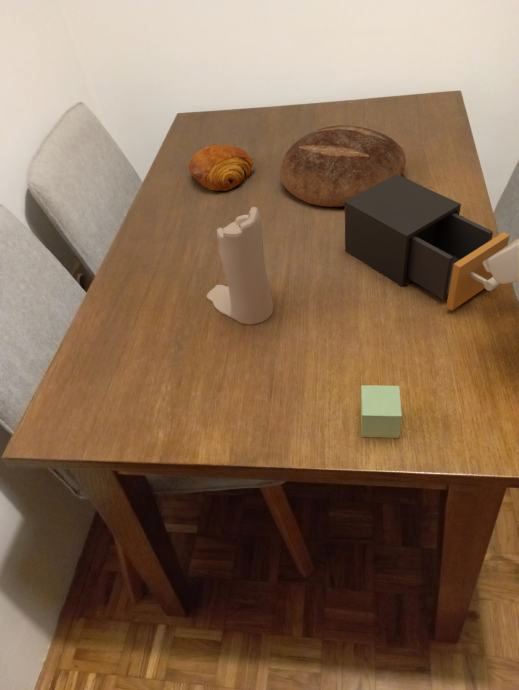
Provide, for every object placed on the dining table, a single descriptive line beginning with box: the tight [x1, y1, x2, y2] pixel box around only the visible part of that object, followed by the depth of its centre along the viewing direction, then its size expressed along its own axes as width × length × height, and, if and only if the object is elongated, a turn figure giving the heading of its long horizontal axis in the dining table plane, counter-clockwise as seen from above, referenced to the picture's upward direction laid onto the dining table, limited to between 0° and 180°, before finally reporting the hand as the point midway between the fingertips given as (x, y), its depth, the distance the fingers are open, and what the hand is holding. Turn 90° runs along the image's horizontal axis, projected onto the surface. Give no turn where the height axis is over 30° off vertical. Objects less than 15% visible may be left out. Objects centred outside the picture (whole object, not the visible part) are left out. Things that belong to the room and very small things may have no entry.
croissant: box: [187, 143, 254, 192], centre depth 123 cm, size 14×16×8 cm
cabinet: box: [344, 174, 462, 288], centre depth 93 cm, size 15×13×11 cm
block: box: [360, 384, 403, 439], centre depth 71 cm, size 5×5×5 cm
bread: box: [279, 125, 407, 208], centre depth 114 cm, size 26×27×10 cm
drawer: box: [406, 212, 511, 311], centre depth 85 cm, size 18×11×9 cm, turn 36°
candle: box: [206, 206, 274, 326], centre depth 86 cm, size 7×14×20 cm, turn 50°
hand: (509, 250), depth 75 cm, fingers open, 8 cm apart
